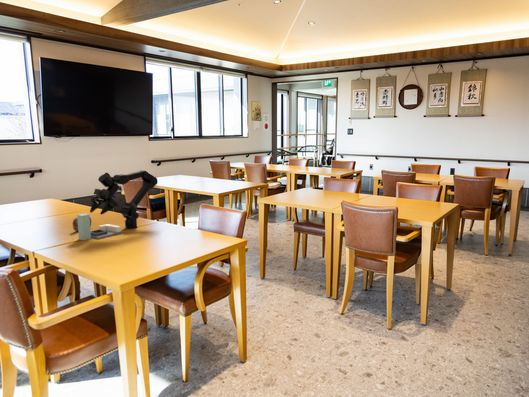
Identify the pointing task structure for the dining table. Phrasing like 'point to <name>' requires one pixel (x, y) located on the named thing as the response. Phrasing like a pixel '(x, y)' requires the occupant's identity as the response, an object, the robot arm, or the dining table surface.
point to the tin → (75, 224)
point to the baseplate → (106, 231)
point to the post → (84, 226)
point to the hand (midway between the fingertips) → (95, 213)
